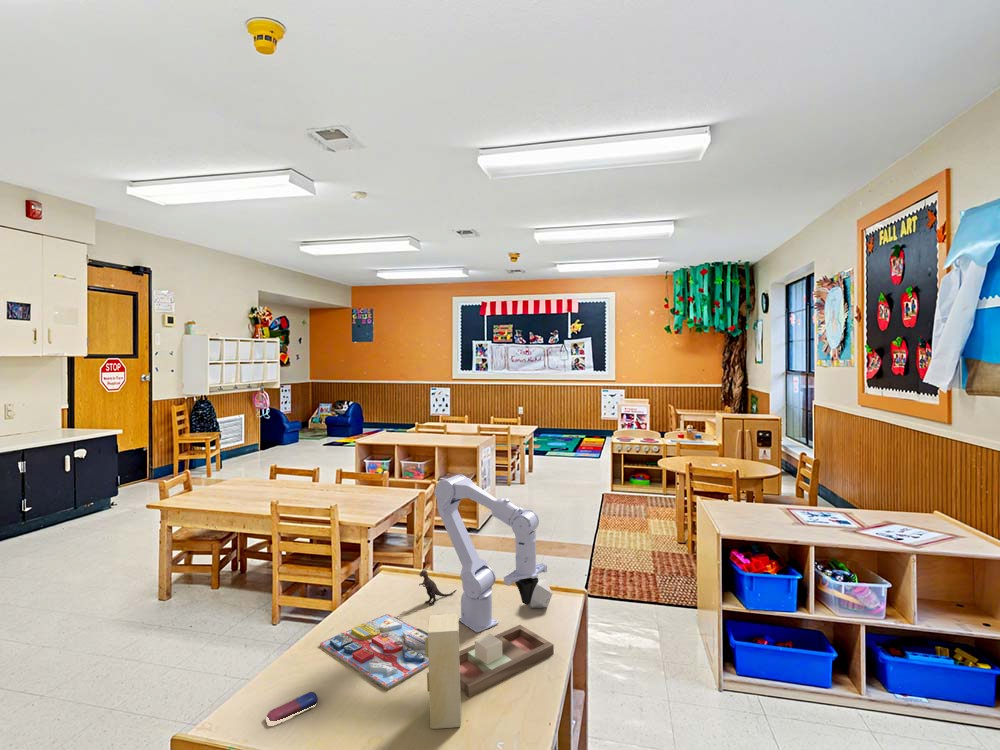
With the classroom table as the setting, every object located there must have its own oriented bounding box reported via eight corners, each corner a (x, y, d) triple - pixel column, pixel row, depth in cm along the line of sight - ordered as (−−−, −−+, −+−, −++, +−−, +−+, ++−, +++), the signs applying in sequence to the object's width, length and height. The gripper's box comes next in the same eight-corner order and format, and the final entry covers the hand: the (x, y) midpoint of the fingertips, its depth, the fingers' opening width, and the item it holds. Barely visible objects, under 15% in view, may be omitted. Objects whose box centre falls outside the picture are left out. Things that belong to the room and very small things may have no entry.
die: (544, 616, 161) (559, 587, 164) (519, 601, 162) (535, 572, 165) (542, 614, 169) (556, 586, 171) (518, 599, 170) (533, 571, 173)
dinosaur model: (417, 569, 167) (452, 559, 177) (415, 605, 168) (450, 593, 178) (424, 574, 165) (460, 563, 175) (422, 609, 165) (458, 597, 175)
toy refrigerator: (428, 705, 120) (426, 614, 119) (460, 703, 121) (459, 612, 120) (426, 730, 112) (424, 633, 111) (461, 727, 113) (459, 631, 112)
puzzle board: (456, 651, 143) (456, 642, 142) (387, 693, 125) (387, 682, 125) (387, 616, 163) (387, 607, 162) (319, 648, 145) (318, 638, 145)
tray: (437, 670, 133) (437, 660, 133) (520, 633, 150) (519, 624, 150) (469, 697, 123) (468, 686, 123) (553, 653, 140) (553, 644, 140)
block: (474, 655, 135) (474, 640, 135) (490, 648, 138) (490, 633, 138) (486, 664, 131) (486, 648, 131) (502, 656, 134) (502, 641, 134)
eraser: (269, 730, 113) (269, 722, 113) (263, 720, 116) (262, 712, 116) (320, 705, 121) (320, 698, 120) (313, 696, 124) (313, 689, 123)
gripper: (515, 566, 140) (516, 616, 141) (554, 553, 149) (554, 600, 150) (498, 558, 146) (499, 607, 146) (537, 546, 155) (537, 591, 155)
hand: (526, 603), depth 149 cm, fingers closed
